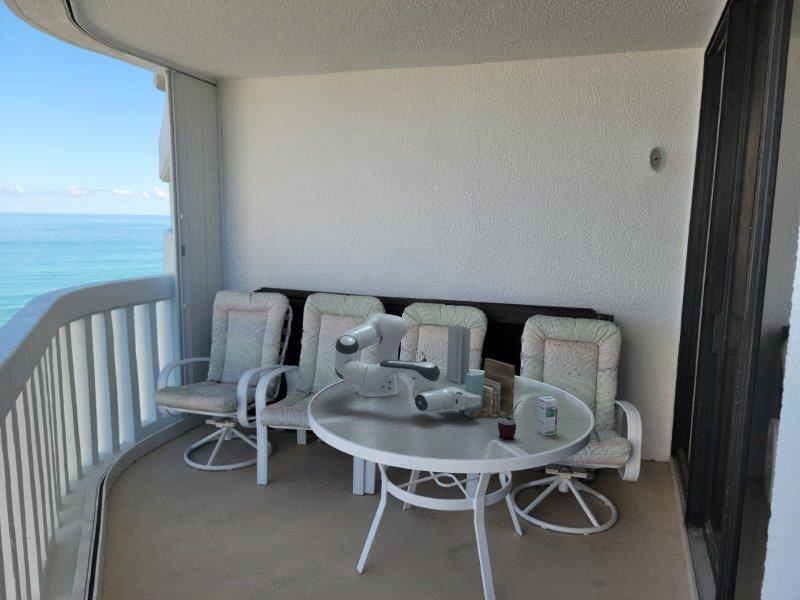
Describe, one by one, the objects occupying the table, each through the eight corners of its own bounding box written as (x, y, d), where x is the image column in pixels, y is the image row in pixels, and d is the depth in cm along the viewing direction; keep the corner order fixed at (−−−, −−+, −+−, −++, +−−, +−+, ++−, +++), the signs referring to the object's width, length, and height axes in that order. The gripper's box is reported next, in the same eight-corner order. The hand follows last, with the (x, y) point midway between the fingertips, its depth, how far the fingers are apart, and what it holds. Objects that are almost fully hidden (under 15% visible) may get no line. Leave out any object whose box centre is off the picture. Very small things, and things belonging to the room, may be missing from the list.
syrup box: (543, 436, 228) (545, 400, 226) (536, 431, 234) (537, 396, 232) (556, 435, 230) (558, 399, 228) (548, 430, 235) (550, 395, 234)
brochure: (446, 378, 319) (448, 325, 316) (455, 377, 321) (457, 324, 318) (459, 384, 306) (461, 328, 303) (468, 383, 309) (470, 328, 306)
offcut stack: (490, 413, 252) (491, 384, 251) (472, 406, 263) (473, 378, 262) (499, 412, 255) (500, 383, 254) (480, 404, 266) (481, 377, 265)
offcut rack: (479, 421, 245) (481, 370, 243) (454, 409, 261) (455, 362, 258) (512, 414, 255) (514, 365, 253) (486, 404, 271) (488, 358, 268)
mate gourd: (494, 439, 223) (495, 401, 222) (502, 433, 230) (504, 396, 228) (512, 443, 219) (514, 404, 218) (520, 437, 226) (522, 400, 224)
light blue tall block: (470, 416, 252) (471, 375, 250) (464, 413, 255) (465, 374, 253) (482, 414, 255) (483, 374, 253) (476, 411, 259) (478, 372, 257)
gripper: (436, 399, 257) (461, 395, 264) (464, 411, 239) (490, 406, 246) (436, 385, 256) (461, 381, 263) (465, 396, 239) (490, 392, 246)
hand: (475, 393), depth 255 cm, fingers closed on light blue tall block, 4 cm apart
